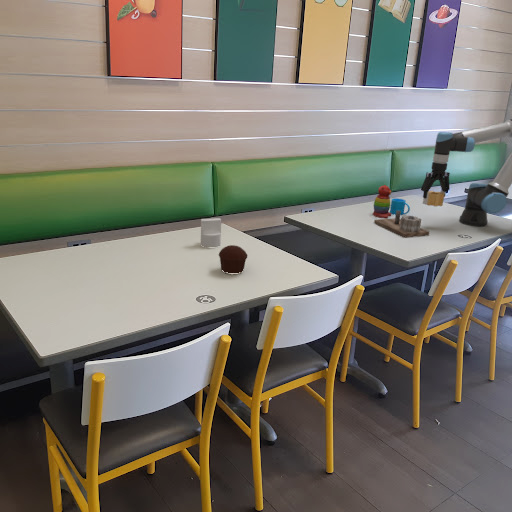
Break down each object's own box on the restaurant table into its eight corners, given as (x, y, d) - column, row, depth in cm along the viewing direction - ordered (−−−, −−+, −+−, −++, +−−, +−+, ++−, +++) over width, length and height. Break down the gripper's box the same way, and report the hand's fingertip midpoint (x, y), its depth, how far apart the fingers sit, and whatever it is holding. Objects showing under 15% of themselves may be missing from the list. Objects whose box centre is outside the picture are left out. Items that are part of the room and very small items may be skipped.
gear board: (397, 221, 287) (400, 206, 284) (428, 235, 264) (431, 218, 261) (374, 223, 281) (376, 207, 278) (403, 237, 258) (406, 220, 255)
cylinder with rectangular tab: (217, 241, 237) (217, 216, 233) (223, 247, 229) (223, 221, 225) (198, 242, 234) (198, 217, 230) (203, 248, 226) (204, 222, 222)
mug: (387, 212, 304) (389, 199, 301) (394, 210, 310) (396, 197, 307) (405, 217, 297) (407, 203, 294) (411, 215, 302) (414, 201, 299)
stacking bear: (386, 219, 290) (391, 188, 284) (369, 215, 295) (373, 185, 289) (392, 215, 299) (396, 185, 293) (375, 212, 304) (379, 182, 298)
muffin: (252, 271, 204) (254, 247, 200) (233, 278, 196) (234, 253, 192) (231, 263, 211) (232, 240, 208) (212, 269, 203) (212, 245, 200)
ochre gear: (433, 201, 280) (435, 190, 278) (446, 205, 271) (448, 194, 269) (419, 202, 276) (421, 191, 274) (431, 206, 268) (433, 195, 266)
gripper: (451, 160, 274) (444, 200, 281) (418, 161, 265) (411, 202, 273) (461, 163, 267) (454, 204, 275) (427, 163, 259) (420, 206, 266)
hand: (432, 203), depth 274 cm, fingers closed on ochre gear, 10 cm apart
